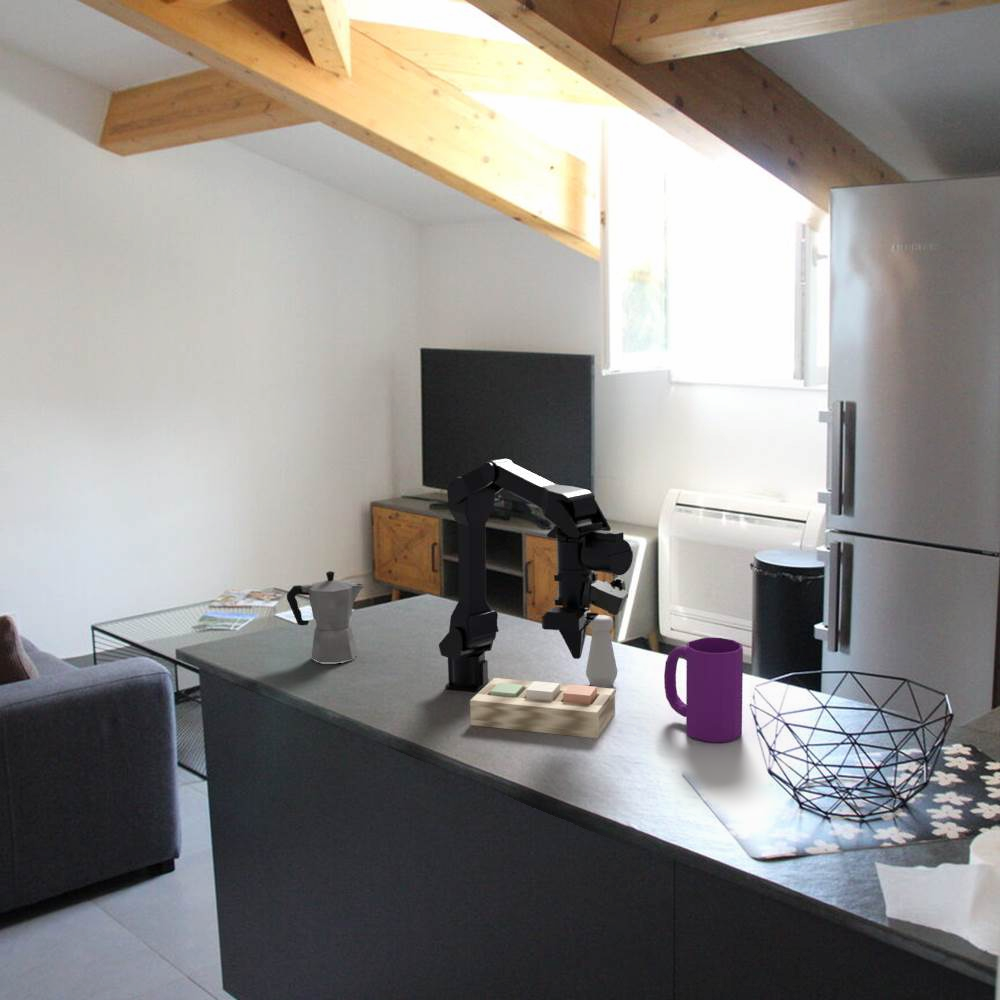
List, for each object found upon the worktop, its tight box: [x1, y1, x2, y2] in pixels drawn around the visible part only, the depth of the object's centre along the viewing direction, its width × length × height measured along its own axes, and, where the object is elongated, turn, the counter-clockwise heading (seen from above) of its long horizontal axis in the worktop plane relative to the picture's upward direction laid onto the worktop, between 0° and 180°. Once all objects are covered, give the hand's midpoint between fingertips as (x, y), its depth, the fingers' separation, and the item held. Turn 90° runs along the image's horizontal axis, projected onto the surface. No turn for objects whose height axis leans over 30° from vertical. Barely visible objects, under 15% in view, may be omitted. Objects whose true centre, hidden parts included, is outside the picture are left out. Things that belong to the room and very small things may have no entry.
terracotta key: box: [563, 684, 597, 705], centre depth 194 cm, size 5×5×3 cm
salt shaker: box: [585, 614, 618, 688], centre depth 213 cm, size 6×6×13 cm
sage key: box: [490, 683, 524, 698], centre depth 199 cm, size 5×5×3 cm
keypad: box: [469, 677, 616, 739], centre depth 197 cm, size 22×12×4 cm, turn 70°
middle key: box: [526, 680, 561, 701], centre depth 196 cm, size 5×5×3 cm
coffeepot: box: [286, 570, 365, 662], centre depth 232 cm, size 15×9×18 cm, turn 102°
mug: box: [663, 637, 744, 744], centre depth 190 cm, size 9×16×15 cm, turn 37°
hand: (577, 658), depth 193 cm, fingers closed
